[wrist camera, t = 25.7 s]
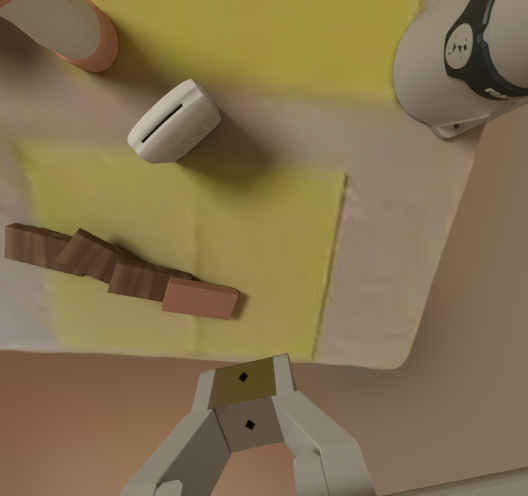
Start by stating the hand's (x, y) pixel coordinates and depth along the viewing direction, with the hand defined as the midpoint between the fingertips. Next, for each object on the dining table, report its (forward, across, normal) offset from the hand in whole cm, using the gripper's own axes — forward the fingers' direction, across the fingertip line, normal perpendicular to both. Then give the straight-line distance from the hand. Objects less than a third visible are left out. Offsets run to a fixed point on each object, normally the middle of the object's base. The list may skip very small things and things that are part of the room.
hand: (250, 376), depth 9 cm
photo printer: (+35, +6, -12) cm, 38 cm away
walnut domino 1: (+33, +26, +2) cm, 42 cm away
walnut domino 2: (+34, +20, +8) cm, 40 cm away
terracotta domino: (+34, +7, +16) cm, 38 cm away
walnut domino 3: (+34, +14, +11) cm, 39 cm away
